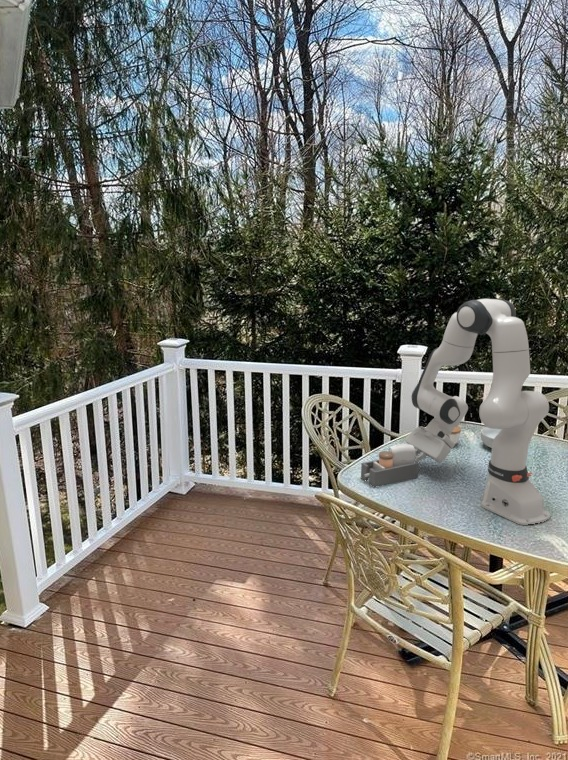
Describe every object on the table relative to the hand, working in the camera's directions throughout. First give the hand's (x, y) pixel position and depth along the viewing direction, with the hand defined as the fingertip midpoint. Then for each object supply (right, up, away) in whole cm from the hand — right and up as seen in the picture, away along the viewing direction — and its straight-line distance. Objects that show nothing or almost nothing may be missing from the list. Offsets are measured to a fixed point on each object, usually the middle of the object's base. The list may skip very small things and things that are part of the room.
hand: (413, 460), depth 206 cm
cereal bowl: (+43, +2, +25) cm, 50 cm away
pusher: (-17, -7, -6) cm, 19 cm away
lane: (-9, -6, -3) cm, 11 cm away
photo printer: (-5, -5, 0) cm, 8 cm away
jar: (-12, -6, -4) cm, 14 cm away
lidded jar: (+22, +3, +29) cm, 37 cm away
